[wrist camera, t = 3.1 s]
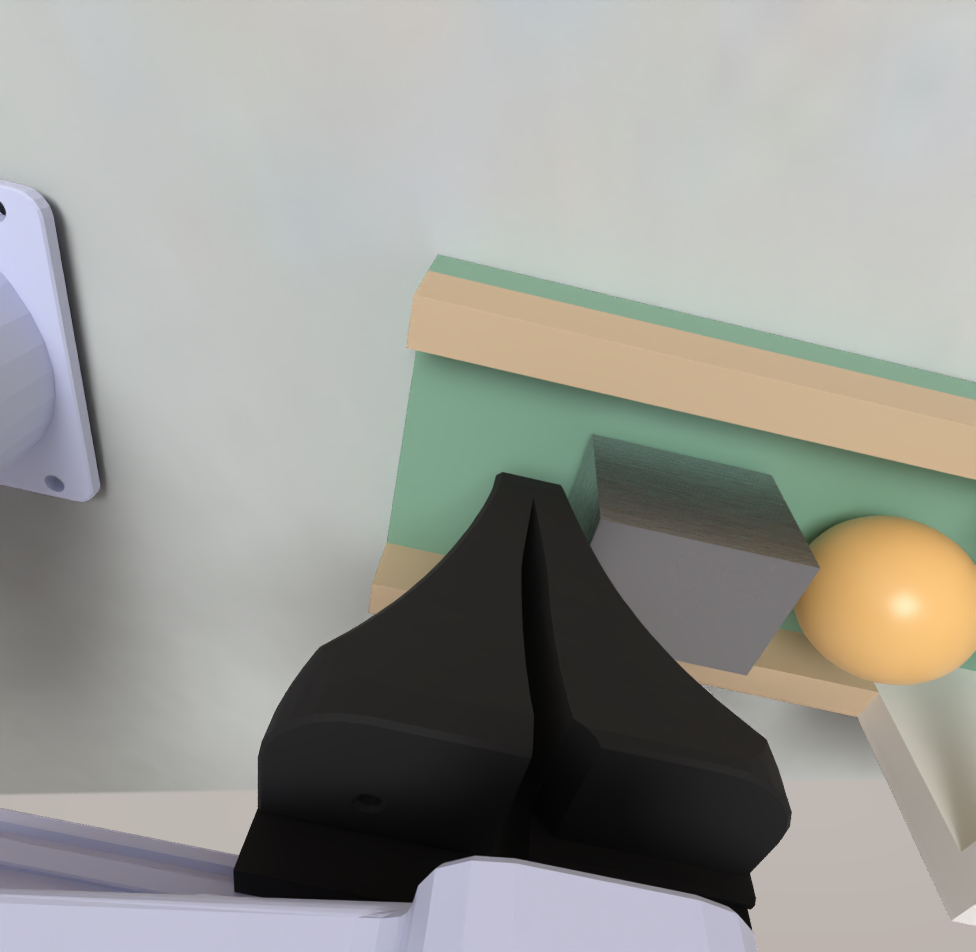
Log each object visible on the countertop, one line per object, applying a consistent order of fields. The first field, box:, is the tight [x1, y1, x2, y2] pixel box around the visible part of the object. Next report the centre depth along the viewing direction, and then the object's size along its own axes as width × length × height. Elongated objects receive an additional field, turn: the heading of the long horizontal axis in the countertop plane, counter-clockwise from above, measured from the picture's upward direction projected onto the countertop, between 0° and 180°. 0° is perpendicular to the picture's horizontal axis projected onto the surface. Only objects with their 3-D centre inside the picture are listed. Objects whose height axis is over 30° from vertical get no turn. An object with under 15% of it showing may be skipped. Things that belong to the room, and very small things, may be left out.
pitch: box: [368, 255, 976, 926], centre depth 13 cm, size 17×8×7 cm, turn 78°
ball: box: [794, 515, 976, 685], centre depth 13 cm, size 4×4×4 cm
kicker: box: [569, 434, 820, 676], centre depth 13 cm, size 4×3×3 cm
